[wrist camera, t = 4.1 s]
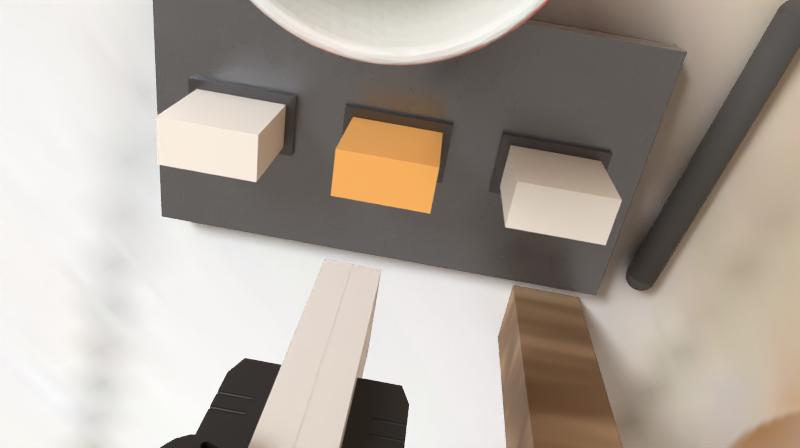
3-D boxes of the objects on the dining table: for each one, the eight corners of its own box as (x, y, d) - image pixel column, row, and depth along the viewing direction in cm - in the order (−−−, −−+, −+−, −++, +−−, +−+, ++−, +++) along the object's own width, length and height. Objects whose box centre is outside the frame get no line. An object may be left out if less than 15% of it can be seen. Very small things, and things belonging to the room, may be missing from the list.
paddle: (197, 88, 26) (155, 116, 23) (286, 104, 26) (258, 134, 23) (197, 131, 27) (157, 164, 24) (283, 147, 27) (256, 182, 24)
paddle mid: (353, 116, 26) (335, 148, 23) (442, 132, 26) (439, 167, 23) (348, 158, 27) (330, 195, 24) (434, 174, 27) (430, 213, 24)
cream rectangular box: (510, 145, 26) (517, 181, 23) (600, 160, 26) (622, 200, 23) (500, 186, 27) (505, 227, 24) (587, 201, 27) (605, 245, 24)
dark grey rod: (781, -10, 24) (799, -6, 23) (813, 1, 24) (832, 6, 23) (618, 275, 31) (624, 291, 30) (643, 283, 31) (651, 299, 30)
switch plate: (167, -45, 26) (147, -42, 24) (675, 44, 25) (689, 53, 24) (174, 203, 31) (159, 218, 30) (590, 278, 31) (597, 298, 30)
